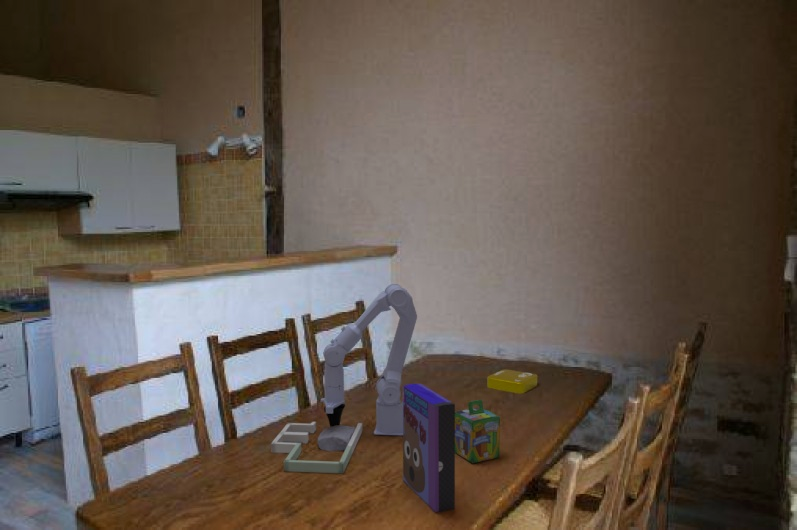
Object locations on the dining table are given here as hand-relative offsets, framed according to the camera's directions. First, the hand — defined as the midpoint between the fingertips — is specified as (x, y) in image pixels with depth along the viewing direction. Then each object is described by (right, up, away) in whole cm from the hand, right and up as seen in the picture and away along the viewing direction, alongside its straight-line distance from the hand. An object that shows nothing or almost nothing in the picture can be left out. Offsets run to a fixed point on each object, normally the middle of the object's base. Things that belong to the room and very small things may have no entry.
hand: (334, 429), depth 179 cm
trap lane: (-5, -2, -11) cm, 12 cm away
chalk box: (+40, -3, -16) cm, 43 cm away
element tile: (+62, +2, +49) cm, 79 cm away
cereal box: (+26, -5, -39) cm, 46 cm away
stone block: (+1, -2, -7) cm, 7 cm away
